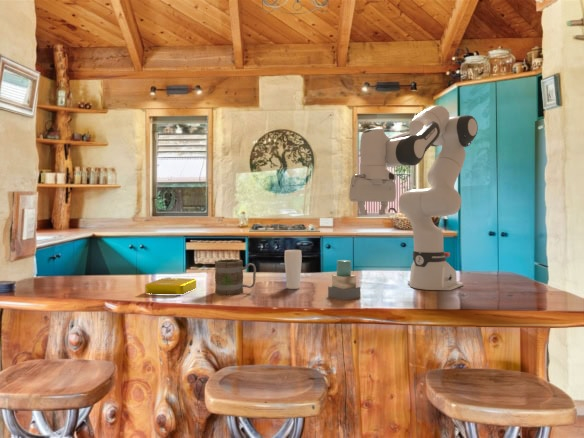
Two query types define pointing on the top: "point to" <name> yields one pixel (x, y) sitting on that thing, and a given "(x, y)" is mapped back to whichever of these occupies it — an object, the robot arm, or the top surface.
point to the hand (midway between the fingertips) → (373, 214)
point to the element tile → (170, 286)
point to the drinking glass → (293, 268)
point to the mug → (231, 277)
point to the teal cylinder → (344, 268)
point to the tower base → (344, 293)
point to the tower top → (344, 281)
